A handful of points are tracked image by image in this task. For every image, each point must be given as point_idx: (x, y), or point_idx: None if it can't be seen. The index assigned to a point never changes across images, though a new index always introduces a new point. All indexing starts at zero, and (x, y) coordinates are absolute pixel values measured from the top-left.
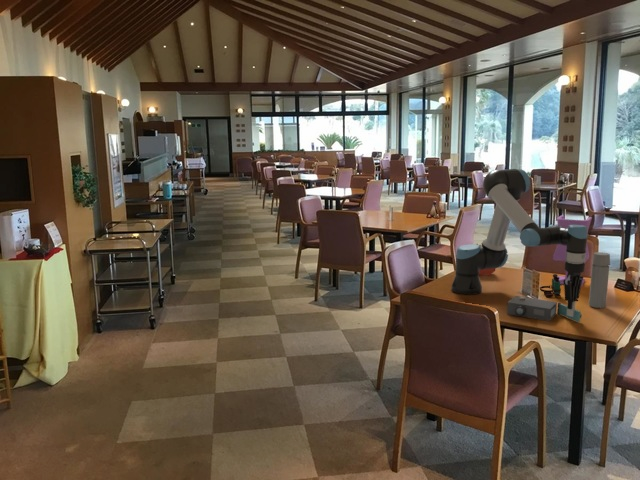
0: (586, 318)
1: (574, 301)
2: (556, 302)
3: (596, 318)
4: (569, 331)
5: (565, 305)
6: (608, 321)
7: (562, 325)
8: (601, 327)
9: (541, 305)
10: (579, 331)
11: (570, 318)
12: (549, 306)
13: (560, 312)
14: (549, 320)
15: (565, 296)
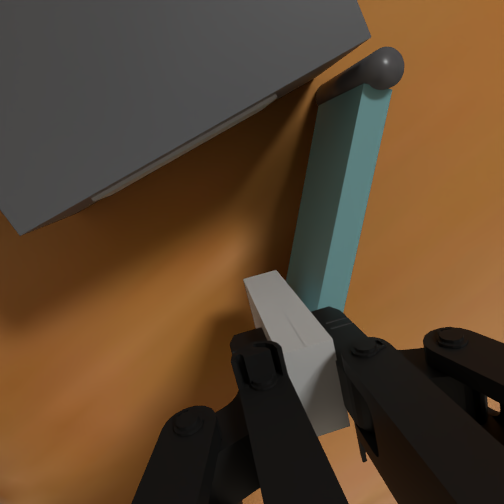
0: (427, 293)
1: (337, 419)
2: (348, 48)
3: (486, 324)
4: (41, 469)
5: (369, 178)
6: (490, 403)
7: (102, 345)
8: (337, 476)
9: (15, 37)
10: (118, 491)
11: (289, 269)
12: (99, 141)
13: (320, 130)
14: (72, 214)
15: (144, 500)
